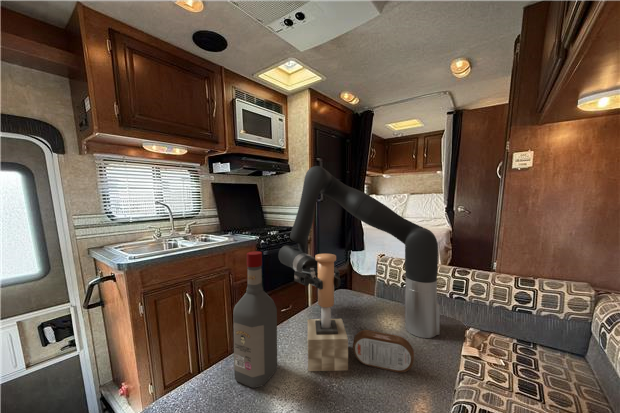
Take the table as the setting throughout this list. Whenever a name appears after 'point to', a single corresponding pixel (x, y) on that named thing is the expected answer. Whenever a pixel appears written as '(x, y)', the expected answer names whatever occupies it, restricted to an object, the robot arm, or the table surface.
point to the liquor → (255, 330)
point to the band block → (327, 346)
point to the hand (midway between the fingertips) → (330, 284)
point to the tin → (383, 351)
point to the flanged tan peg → (326, 287)
